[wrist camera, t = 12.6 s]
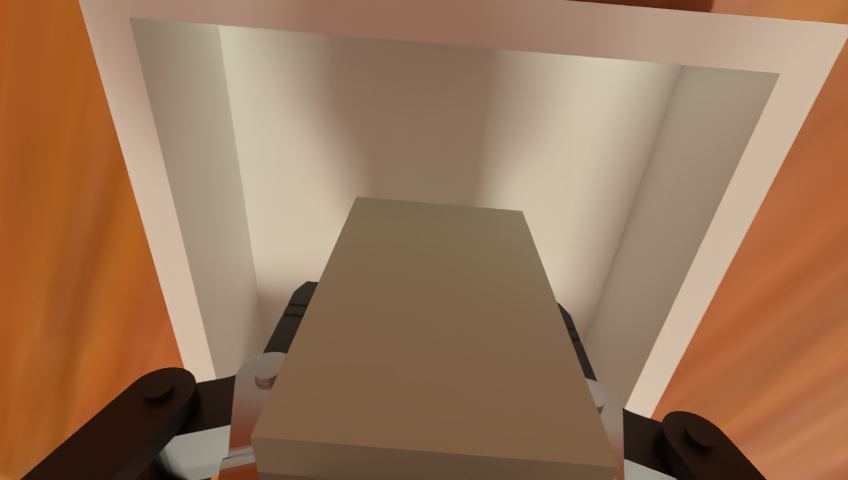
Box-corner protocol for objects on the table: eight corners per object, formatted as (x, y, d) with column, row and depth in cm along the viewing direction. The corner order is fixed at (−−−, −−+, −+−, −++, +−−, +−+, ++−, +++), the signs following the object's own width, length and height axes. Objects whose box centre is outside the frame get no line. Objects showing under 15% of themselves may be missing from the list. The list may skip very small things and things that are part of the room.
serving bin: (715, 16, 13) (854, 25, 9) (580, 382, 21) (616, 482, 16) (193, -29, 13) (65, -44, 8) (257, 355, 21) (208, 449, 16)
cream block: (522, 210, 13) (619, 467, 6) (495, 336, 15) (540, 621, 8) (356, 196, 13) (250, 437, 6) (356, 324, 15) (283, 600, 8)
